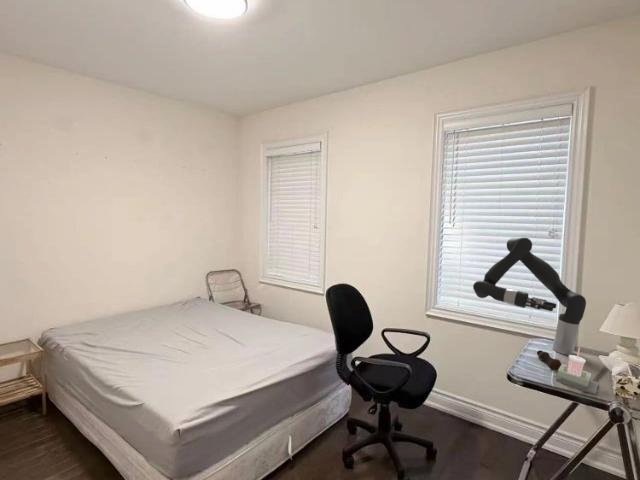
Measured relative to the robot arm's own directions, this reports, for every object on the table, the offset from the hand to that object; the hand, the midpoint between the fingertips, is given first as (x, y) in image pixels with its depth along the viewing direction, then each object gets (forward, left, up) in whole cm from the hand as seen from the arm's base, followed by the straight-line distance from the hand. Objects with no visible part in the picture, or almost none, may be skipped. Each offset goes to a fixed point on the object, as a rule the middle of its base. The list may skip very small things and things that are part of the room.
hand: (554, 307), depth 158 cm
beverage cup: (+2, +12, -28) cm, 31 cm away
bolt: (-10, 0, -30) cm, 32 cm away
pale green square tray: (+2, +14, -30) cm, 33 cm away
